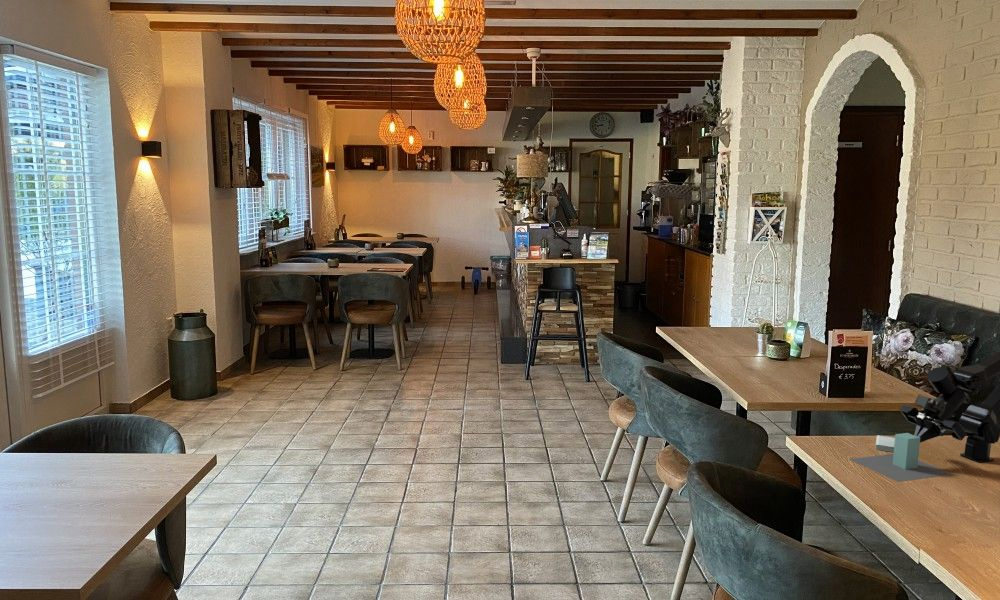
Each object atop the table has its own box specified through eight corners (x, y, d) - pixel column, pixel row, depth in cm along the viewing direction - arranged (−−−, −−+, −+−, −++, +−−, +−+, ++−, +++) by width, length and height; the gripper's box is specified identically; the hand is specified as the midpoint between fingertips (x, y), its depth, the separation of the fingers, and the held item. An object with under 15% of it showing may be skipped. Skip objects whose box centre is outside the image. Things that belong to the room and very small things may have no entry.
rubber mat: (900, 454, 229) (901, 452, 229) (952, 475, 212) (953, 474, 212) (848, 460, 223) (848, 459, 223) (897, 482, 206) (897, 481, 206)
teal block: (904, 462, 221) (907, 432, 219) (917, 467, 217) (920, 437, 215) (892, 463, 219) (895, 434, 218) (905, 469, 215) (908, 439, 214)
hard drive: (905, 449, 228) (905, 438, 239) (875, 444, 231) (876, 434, 242) (905, 454, 228) (904, 443, 239) (875, 449, 232) (876, 439, 243)
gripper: (907, 378, 226) (875, 416, 224) (963, 394, 208) (928, 435, 206) (924, 402, 230) (892, 439, 228) (980, 420, 212) (946, 460, 210)
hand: (913, 443), depth 218 cm, fingers closed
